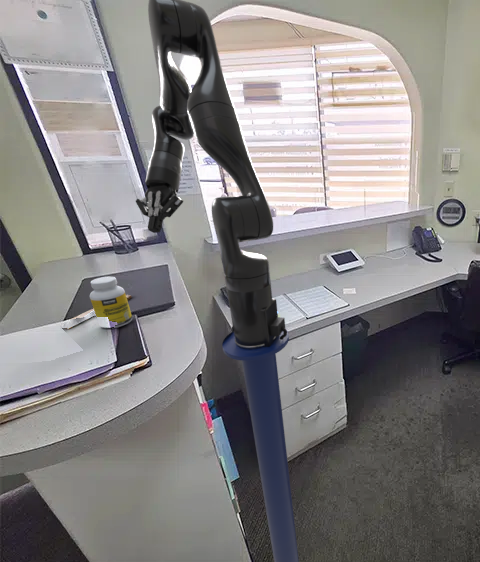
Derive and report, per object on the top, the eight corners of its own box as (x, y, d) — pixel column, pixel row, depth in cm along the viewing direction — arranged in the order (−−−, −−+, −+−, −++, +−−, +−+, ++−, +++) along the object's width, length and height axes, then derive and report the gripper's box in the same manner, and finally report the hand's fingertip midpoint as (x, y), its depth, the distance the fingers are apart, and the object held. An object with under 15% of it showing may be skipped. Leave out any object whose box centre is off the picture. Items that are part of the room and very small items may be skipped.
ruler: (131, 297, 90) (131, 295, 90) (69, 329, 74) (68, 326, 73) (122, 297, 90) (121, 294, 90) (58, 328, 74) (56, 325, 74)
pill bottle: (101, 332, 73) (85, 287, 68) (99, 322, 77) (83, 279, 73) (135, 324, 77) (122, 280, 72) (131, 314, 81) (118, 273, 77)
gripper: (196, 178, 88) (186, 235, 83) (155, 182, 90) (144, 238, 85) (175, 162, 81) (164, 223, 76) (131, 167, 83) (118, 227, 78)
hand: (153, 231), depth 81 cm, fingers closed
